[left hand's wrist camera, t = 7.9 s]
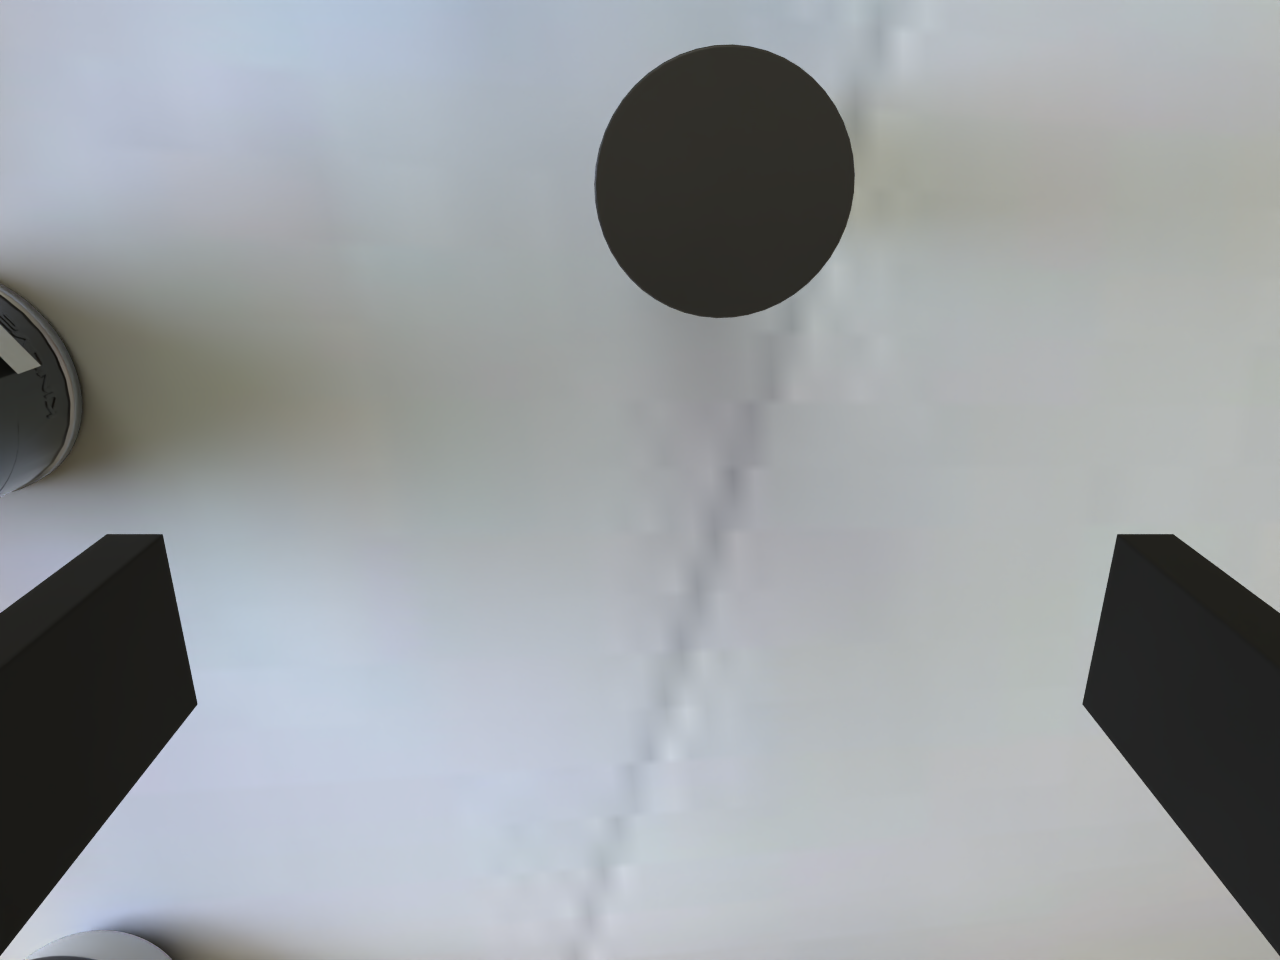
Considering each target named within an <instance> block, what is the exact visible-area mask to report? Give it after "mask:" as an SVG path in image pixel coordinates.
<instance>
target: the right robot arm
mask: <svg viewBox="0 0 1280 960" xmlns="http://www.w3.org/2000/svg"><path fill="white" fill-rule="evenodd" d="M81 417H82V395H81V389H80V383H79V379H78V375H77V372H76V369H75V366H74V364H73V361H72V359H71V357H70V355H69V353H68V351H67V349H66V347H65V345H64V344H63V342H62V340H61V339H60V337H59V336H58V334H57V333H56V331H55V330H54V329H53V328H52V326H51V325H50V324H49V323H48V321H47V320H46V319H45V318H44V317H43V316H42V315H41V314H40V313H39V312H38V311H37V310H36V309H35V308H34V307H33V306H32V305H31V304H30V303H28V302H27V301H26V300H25V299H23V298H22V297H21V296H19V295H18V294H17V293H15V292H14V291H12V290H11V289H9V288H8V287H6V286H4V285H2V284H0V498H1V497H3V496H4V495H6V494H8V493H10V492H13V491H16V490H19V489H22V488H24V487H26V486H28V485H31V484H33V483H34V482H36V481H38V480H40V479H42V478H43V477H45V476H46V475H48V474H49V473H51V472H52V471H53V470H54V469H56V468H57V467H58V466H59V465H60V464H61V463H62V462H63V460H64V459H65V458H66V456H67V455H68V454H69V452H70V450H71V449H72V447H73V445H74V443H75V440H76V438H77V435H78V432H79V428H80V423H81Z"/></svg>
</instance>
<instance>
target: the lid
mask: <svg viewBox="0 0 1280 960" xmlns="http://www.w3.org/2000/svg"><path fill="white" fill-rule="evenodd" d="M854 177H855V173H854V161H853V153H852V149H851V144H850V139H849V136H848V133H847V130H846V128H845V125H844V122H843V120H842V118H841V116H840V114H839V112H838V110H837V108H836V106H835V105H834V103H833V102H832V100H831V99H830V98H829V96H828V95H827V93H826V92H825V91H824V89H823V88H822V87H821V86H820V85H819V84H818V83H817V82H816V81H815V80H814V79H813V78H812V77H811V76H810V75H809V74H807V73H806V72H805V71H804V70H802V69H801V68H800V67H799V66H797V65H795V64H794V63H792V62H790V61H789V60H787V59H785V58H783V57H781V56H779V55H776V54H774V53H771V52H769V51H766V50H762V49H758V48H754V47H750V46H741V45H714V46H709V47H703V48H698V49H695V50H692V51H689V52H686V53H683V54H680V55H678V56H676V57H674V58H672V59H670V60H668V61H666V62H664V63H662V64H661V65H659V66H658V67H657V68H655V69H654V70H652V71H651V72H649V73H648V74H647V75H646V76H645V77H644V78H642V79H641V80H640V81H639V82H638V83H637V84H636V85H635V86H634V87H633V88H632V89H631V90H630V92H629V93H628V94H627V95H626V96H625V98H624V99H623V100H622V102H621V103H620V105H619V106H618V108H617V109H616V111H615V112H614V114H613V116H612V118H611V120H610V122H609V124H608V126H607V128H606V130H605V133H604V136H603V139H602V142H601V145H600V148H599V153H598V158H597V163H596V170H595V184H594V185H595V203H596V208H597V214H598V219H599V222H600V226H601V229H602V232H603V235H604V238H605V240H606V242H607V244H608V246H609V249H610V251H611V253H612V254H613V256H614V257H615V259H616V261H617V262H618V264H619V265H620V267H621V268H622V269H623V270H624V272H625V273H626V274H627V275H628V276H629V278H630V279H631V280H632V281H633V282H634V283H636V284H637V285H638V286H639V287H640V288H641V289H642V290H643V291H645V292H646V293H647V294H649V295H650V296H651V297H653V298H654V299H656V300H658V301H659V302H661V303H663V304H665V305H667V306H669V307H671V308H674V309H676V310H679V311H682V312H684V313H688V314H693V315H697V316H702V317H712V318H728V317H738V316H744V315H749V314H753V313H756V312H759V311H763V310H766V309H768V308H770V307H772V306H774V305H777V304H779V303H781V302H782V301H784V300H786V299H787V298H789V297H791V296H792V295H794V294H795V293H796V292H798V291H799V290H800V289H802V288H803V287H804V286H805V285H807V284H808V283H809V282H810V281H811V280H812V279H813V278H814V277H815V276H816V275H817V274H818V273H819V271H820V270H821V269H822V268H823V266H824V265H825V264H826V262H827V261H828V260H829V258H830V257H831V255H832V253H833V252H834V250H835V248H836V247H837V245H838V243H839V241H840V239H841V237H842V234H843V232H844V230H845V227H846V224H847V221H848V218H849V214H850V211H851V206H852V200H853V194H854Z"/></svg>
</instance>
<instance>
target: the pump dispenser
mask: <svg viewBox="0 0 1280 960" xmlns="http://www.w3.org/2000/svg"><path fill="white" fill-rule="evenodd" d="M24 960H172V959H171V958H170V957H169V956H168V955H167V954H166V953H165V952H164V951H163V950H161V949H160V948H159V947H157V946H156V945H154V944H152V943H151V942H149V941H147V940H145V939H143V938H140V937H138V936H135V935H132V934H128V933H124V932H119V931H110V930H96V931H87V932H81V933H76V934H72V935H69V936H66V937H63V938H60V939H58V940H56V941H53V942H51V943H49V944H47V945H45V946H44V947H42V948H40V949H38V950H37V951H35V952H34V953H32V954H31V955H29V956H28V957H27V958H25V959H24Z"/></svg>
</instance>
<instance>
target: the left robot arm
mask: <svg viewBox="0 0 1280 960" xmlns="http://www.w3.org/2000/svg"><path fill="white" fill-rule="evenodd" d="M196 705H197V699H196V695H195V690H194V685H193V680H192V675H191V670H190V665H189V661H188V656H187V651H186V646H185V641H184V636H183V631H182V627H181V622H180V617H179V612H178V607H177V602H176V597H175V592H174V588H173V583H172V578H171V573H170V568H169V563H168V558H167V554H166V549H165V544H164V539H163V534H107V535H105V536H104V537H103V538H101V539H100V540H99V541H97V542H96V543H94V544H93V545H92V546H90V547H89V548H88V549H86V550H85V551H84V552H82V553H81V554H80V555H78V556H77V557H76V558H74V559H73V560H72V561H70V562H69V563H67V564H66V565H65V566H63V567H62V568H61V569H59V570H58V571H57V572H55V573H54V574H53V575H51V576H50V577H49V578H47V579H46V580H44V581H43V582H42V583H40V584H39V585H38V586H36V587H35V588H34V589H32V590H31V591H30V592H28V593H27V594H26V595H24V596H23V597H22V598H20V599H19V600H17V601H16V602H15V603H13V604H12V605H11V606H9V607H8V608H7V609H5V610H4V611H3V612H1V613H0V956H1V954H2V953H3V952H4V950H5V949H6V948H7V947H8V945H9V944H10V943H11V942H12V940H13V939H14V938H15V936H16V935H17V934H18V933H19V931H20V930H21V929H22V928H23V926H24V925H25V924H26V922H27V921H28V920H29V919H30V917H31V916H32V915H33V913H34V912H35V911H36V910H37V908H38V907H39V906H40V905H41V903H42V902H43V901H44V899H45V898H46V897H47V896H48V894H49V893H50V892H51V891H52V889H53V888H54V887H55V885H56V884H57V883H58V882H59V880H60V879H61V878H62V876H63V875H64V874H65V873H66V871H67V870H68V869H69V868H70V866H71V865H72V864H73V862H74V861H75V860H76V859H77V857H78V856H79V855H80V854H81V852H82V851H83V850H84V848H85V847H86V846H87V845H88V843H89V842H90V841H91V839H92V838H93V837H94V836H95V834H96V833H97V832H98V831H99V829H100V828H101V827H102V825H103V824H104V823H105V822H106V820H107V819H108V818H109V817H110V815H111V814H112V813H113V811H114V810H115V809H116V808H117V806H118V805H119V804H120V802H121V801H122V800H123V799H124V797H125V796H126V795H127V794H128V792H129V791H130V790H131V788H132V787H133V786H134V785H135V783H136V782H137V781H138V779H139V778H140V777H141V776H142V774H143V773H144V772H145V771H146V769H147V768H148V767H149V765H150V764H151V763H152V762H153V760H154V759H155V758H156V757H157V755H158V754H159V753H160V751H161V750H162V749H163V748H164V746H165V745H166V744H167V742H168V741H169V740H170V739H171V737H172V736H173V735H174V734H175V732H176V731H177V730H178V728H179V727H180V726H181V725H182V723H183V722H184V721H185V720H186V718H187V717H188V716H189V714H190V713H191V712H192V711H193V709H194V708H195V707H196ZM1083 705H1084V707H1085V708H1086V709H1087V711H1088V712H1089V713H1090V714H1091V716H1092V717H1093V718H1094V720H1095V721H1096V722H1097V723H1098V725H1099V726H1100V727H1101V728H1102V730H1103V731H1104V732H1105V734H1106V735H1107V736H1108V737H1109V739H1110V740H1111V741H1112V742H1113V744H1114V745H1115V746H1116V748H1117V749H1118V750H1119V751H1120V753H1121V754H1122V755H1123V757H1124V758H1125V759H1126V760H1127V762H1128V763H1129V764H1130V765H1131V767H1132V768H1133V769H1134V771H1135V772H1136V773H1137V774H1138V776H1139V777H1140V778H1141V779H1142V781H1143V782H1144V783H1145V785H1146V786H1147V787H1148V788H1149V790H1150V791H1151V792H1152V794H1153V795H1154V796H1155V797H1156V799H1157V800H1158V801H1159V802H1160V804H1161V805H1162V806H1163V808H1164V809H1165V810H1166V811H1167V813H1168V814H1169V815H1170V817H1171V818H1172V819H1173V820H1174V822H1175V823H1176V824H1177V825H1178V827H1179V828H1180V829H1181V831H1182V832H1183V833H1184V834H1185V836H1186V837H1187V838H1188V839H1189V841H1190V842H1191V843H1192V845H1193V846H1194V847H1195V848H1196V850H1197V851H1198V852H1199V854H1200V855H1201V856H1202V857H1203V859H1204V860H1205V861H1206V862H1207V864H1208V865H1209V866H1210V868H1211V869H1212V870H1213V871H1214V873H1215V874H1216V875H1217V876H1218V878H1219V879H1220V880H1221V882H1222V883H1223V884H1224V885H1225V887H1226V888H1227V889H1228V891H1229V892H1230V893H1231V894H1232V896H1233V897H1234V898H1235V899H1236V901H1237V902H1238V903H1239V905H1240V906H1241V907H1242V908H1243V910H1244V911H1245V912H1246V913H1247V915H1248V916H1249V917H1250V919H1251V920H1252V921H1253V922H1254V924H1255V925H1256V926H1257V928H1258V929H1259V930H1260V931H1261V933H1262V934H1263V935H1264V936H1265V938H1266V939H1267V940H1268V942H1269V943H1270V944H1271V945H1272V947H1273V948H1274V949H1275V950H1276V952H1277V953H1278V954H1279V956H1280V613H1279V612H1277V611H1276V610H1275V609H1273V608H1272V607H1271V606H1269V605H1268V604H1267V603H1265V602H1264V601H1263V600H1261V599H1260V598H1258V597H1257V596H1256V595H1254V594H1253V593H1252V592H1250V591H1249V590H1248V589H1246V588H1245V587H1244V586H1242V585H1241V584H1240V583H1238V582H1237V581H1236V580H1234V579H1233V578H1231V577H1230V576H1229V575H1227V574H1226V573H1225V572H1223V571H1222V570H1221V569H1219V568H1218V567H1217V566H1215V565H1214V564H1213V563H1211V562H1210V561H1208V560H1207V559H1206V558H1204V557H1203V556H1202V555H1200V554H1199V553H1198V552H1196V551H1195V550H1194V549H1192V548H1191V547H1190V546H1188V545H1187V544H1186V543H1184V542H1183V541H1181V540H1180V539H1179V538H1177V537H1176V536H1175V535H1173V534H1117V539H1116V544H1115V549H1114V554H1113V558H1112V563H1111V568H1110V573H1109V578H1108V583H1107V588H1106V592H1105V597H1104V602H1103V607H1102V612H1101V617H1100V622H1099V627H1098V631H1097V636H1096V641H1095V646H1094V651H1093V656H1092V661H1091V665H1090V670H1089V675H1088V680H1087V685H1086V690H1085V695H1084V699H1083Z"/></svg>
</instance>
